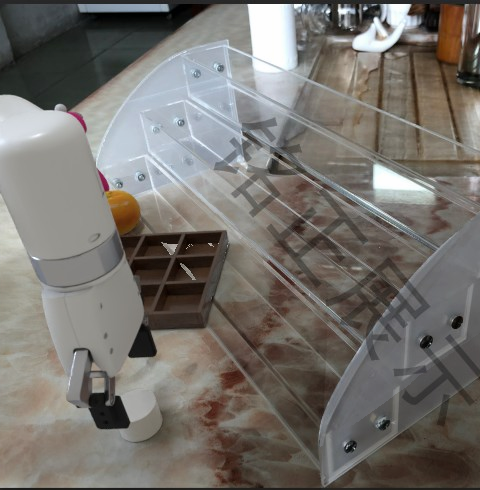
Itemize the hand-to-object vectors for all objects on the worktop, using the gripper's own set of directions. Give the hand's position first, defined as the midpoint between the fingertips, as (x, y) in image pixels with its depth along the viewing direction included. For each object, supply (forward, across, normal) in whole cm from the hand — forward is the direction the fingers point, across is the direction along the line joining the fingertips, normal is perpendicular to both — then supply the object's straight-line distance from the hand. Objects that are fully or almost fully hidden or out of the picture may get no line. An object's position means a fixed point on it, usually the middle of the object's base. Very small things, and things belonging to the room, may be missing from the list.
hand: (129, 388), depth 62 cm
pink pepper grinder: (+6, -48, -23) cm, 53 cm away
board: (+6, -26, -6) cm, 27 cm away
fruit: (+6, -41, -16) cm, 45 cm away
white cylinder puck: (+6, 0, 0) cm, 6 cm away
